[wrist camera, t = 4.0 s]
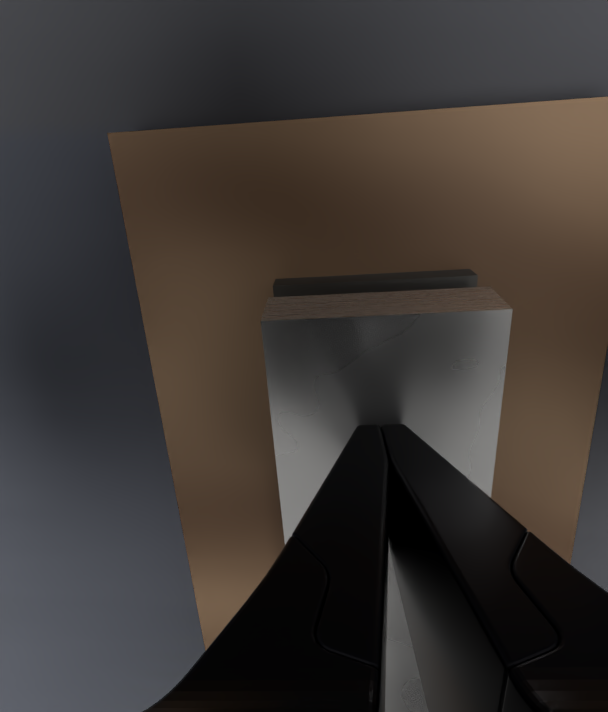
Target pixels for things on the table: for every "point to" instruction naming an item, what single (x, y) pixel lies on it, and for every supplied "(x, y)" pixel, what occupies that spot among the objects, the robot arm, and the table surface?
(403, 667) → the bar
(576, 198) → the walnut board
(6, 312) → the table surface
